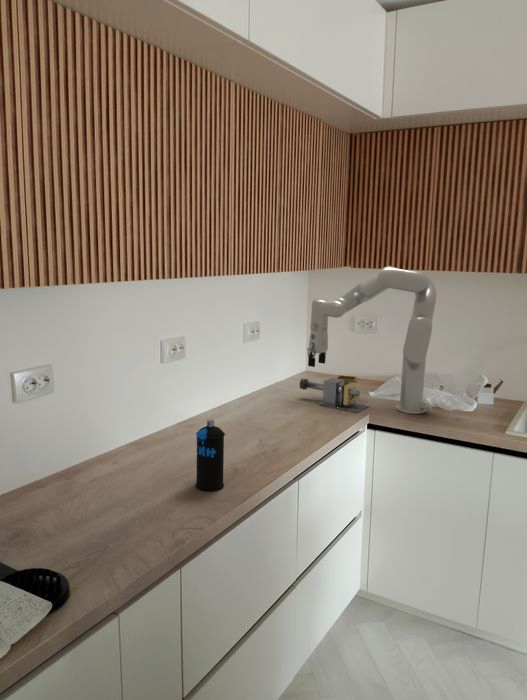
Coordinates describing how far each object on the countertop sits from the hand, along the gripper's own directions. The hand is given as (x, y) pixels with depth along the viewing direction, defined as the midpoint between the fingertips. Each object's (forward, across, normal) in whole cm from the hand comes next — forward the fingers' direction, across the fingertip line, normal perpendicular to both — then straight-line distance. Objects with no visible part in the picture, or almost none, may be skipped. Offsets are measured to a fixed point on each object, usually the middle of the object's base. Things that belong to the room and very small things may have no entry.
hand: (316, 364), depth 264 cm
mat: (+16, 0, -19) cm, 25 cm away
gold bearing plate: (+14, 0, -17) cm, 22 cm away
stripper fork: (+17, 0, -15) cm, 22 cm away
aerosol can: (+17, -103, -21) cm, 106 cm away
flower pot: (+17, +17, -7) cm, 25 cm away
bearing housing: (+17, 0, -9) cm, 19 cm away
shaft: (+12, 0, -7) cm, 14 cm away
